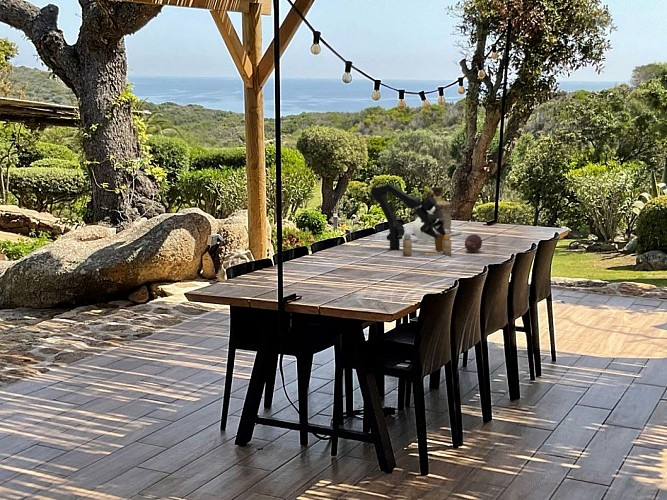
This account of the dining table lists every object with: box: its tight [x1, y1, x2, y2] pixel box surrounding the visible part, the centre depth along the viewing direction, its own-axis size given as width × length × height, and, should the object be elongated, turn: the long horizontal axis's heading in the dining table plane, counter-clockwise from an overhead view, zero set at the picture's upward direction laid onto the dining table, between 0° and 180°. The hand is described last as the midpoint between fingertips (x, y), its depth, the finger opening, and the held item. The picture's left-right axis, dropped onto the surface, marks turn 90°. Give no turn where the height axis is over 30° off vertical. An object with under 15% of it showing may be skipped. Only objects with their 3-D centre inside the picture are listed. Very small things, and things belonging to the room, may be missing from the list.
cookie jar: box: [410, 185, 463, 237], centre depth 561 cm, size 25×25×32 cm
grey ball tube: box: [402, 233, 413, 258], centre depth 473 cm, size 5×5×12 cm
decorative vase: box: [411, 205, 438, 245], centre depth 526 cm, size 18×18×25 cm
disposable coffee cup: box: [434, 229, 450, 252], centre depth 497 cm, size 10×10×12 cm
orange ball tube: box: [441, 234, 452, 257], centre depth 478 cm, size 5×5×12 cm
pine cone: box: [464, 234, 483, 253], centre depth 492 cm, size 18×10×10 cm, turn 164°
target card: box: [400, 252, 438, 258], centre depth 477 cm, size 11×22×1 cm, turn 114°
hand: (441, 237), depth 479 cm, fingers open, 9 cm apart
